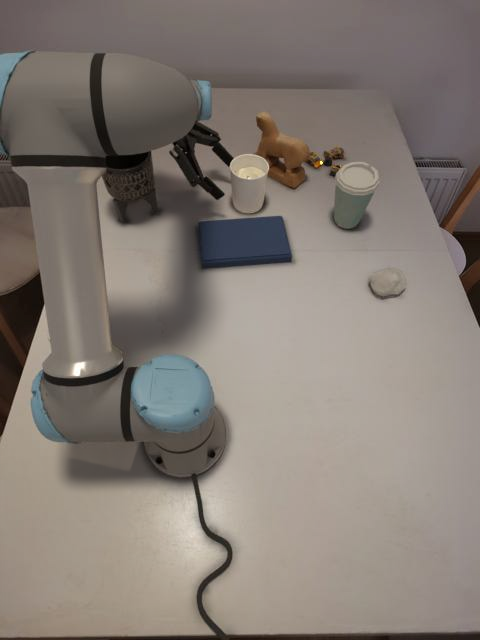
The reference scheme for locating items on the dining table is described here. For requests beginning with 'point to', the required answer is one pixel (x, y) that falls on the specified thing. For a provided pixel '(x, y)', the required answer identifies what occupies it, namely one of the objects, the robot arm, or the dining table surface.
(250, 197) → the candle holder
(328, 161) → the toy set
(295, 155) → the sculpture
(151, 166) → the planter
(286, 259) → the blue book
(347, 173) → the disposable coffee cup
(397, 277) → the pebble
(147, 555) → the dining table surface
